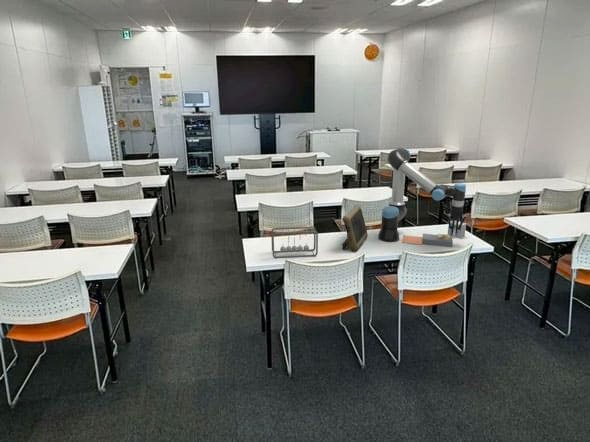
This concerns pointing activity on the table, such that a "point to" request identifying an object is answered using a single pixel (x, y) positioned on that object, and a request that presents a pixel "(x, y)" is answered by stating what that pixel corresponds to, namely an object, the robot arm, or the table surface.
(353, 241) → the tablet
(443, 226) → the table surface
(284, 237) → the table surface
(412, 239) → the mat
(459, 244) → the table surface
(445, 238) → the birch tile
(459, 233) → the light bulb box
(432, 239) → the deck
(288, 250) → the newton's cradle
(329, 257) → the table surface
